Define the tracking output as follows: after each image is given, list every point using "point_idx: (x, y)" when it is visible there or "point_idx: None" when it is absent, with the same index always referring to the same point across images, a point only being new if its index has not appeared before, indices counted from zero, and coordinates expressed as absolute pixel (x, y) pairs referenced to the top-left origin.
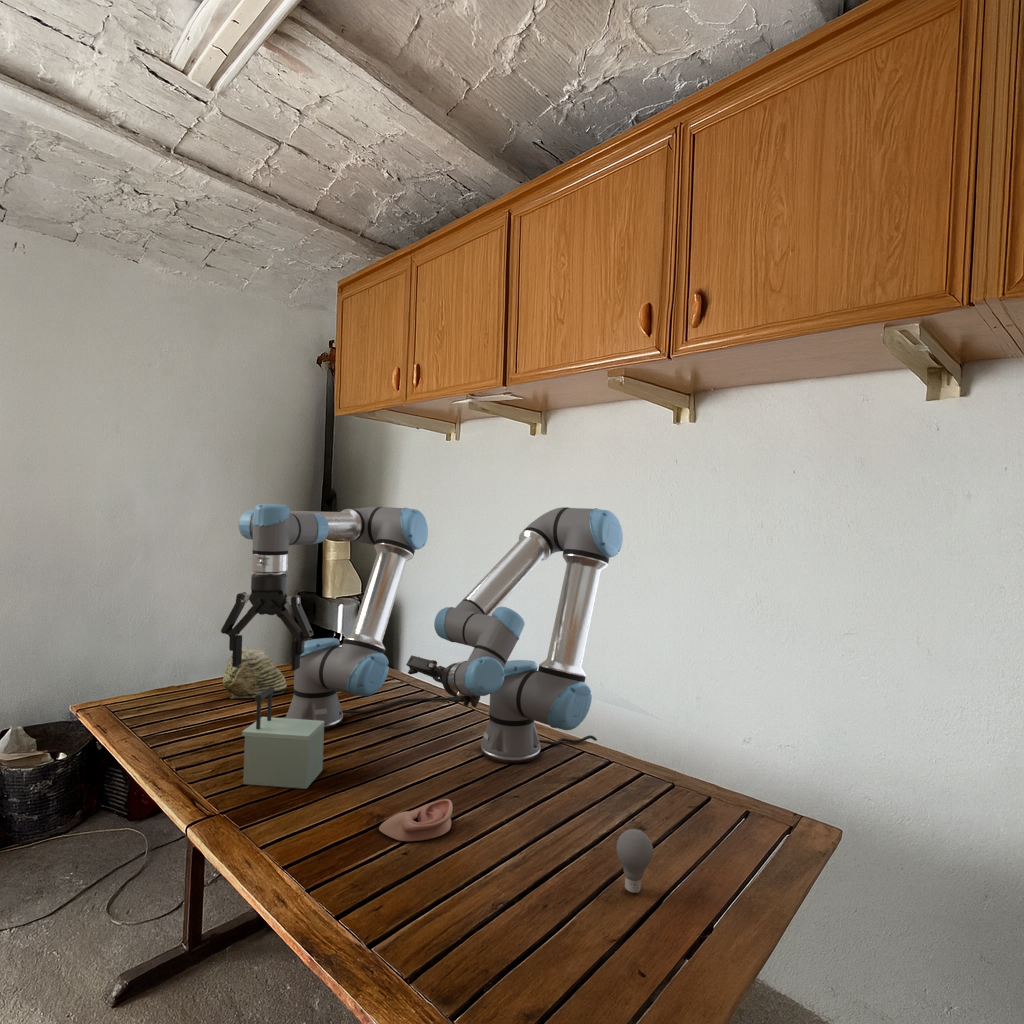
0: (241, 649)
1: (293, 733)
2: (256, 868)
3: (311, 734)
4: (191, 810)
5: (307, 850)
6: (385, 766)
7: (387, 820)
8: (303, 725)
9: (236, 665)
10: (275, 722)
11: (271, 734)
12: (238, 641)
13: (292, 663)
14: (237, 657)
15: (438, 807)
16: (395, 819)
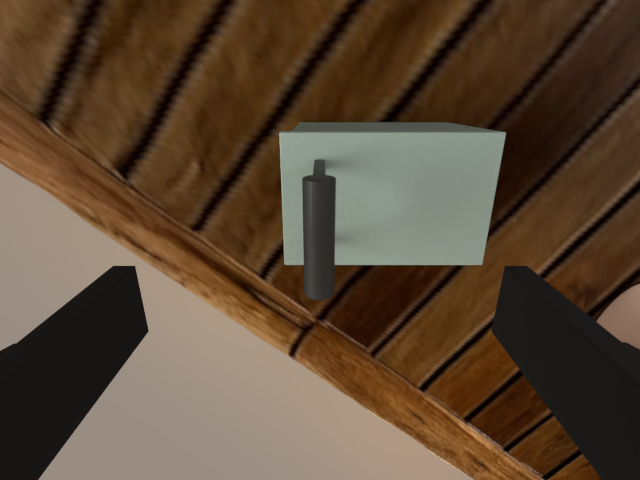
0: (76, 327)
1: (434, 255)
2: (432, 424)
3: (484, 243)
4: (266, 318)
5: (487, 387)
6: (603, 70)
7: (609, 326)
8: (446, 188)
9: (144, 324)
10: (347, 179)
11: (372, 263)
12: (29, 440)
13: (517, 358)
14: (117, 346)
15: None
16: (628, 337)
